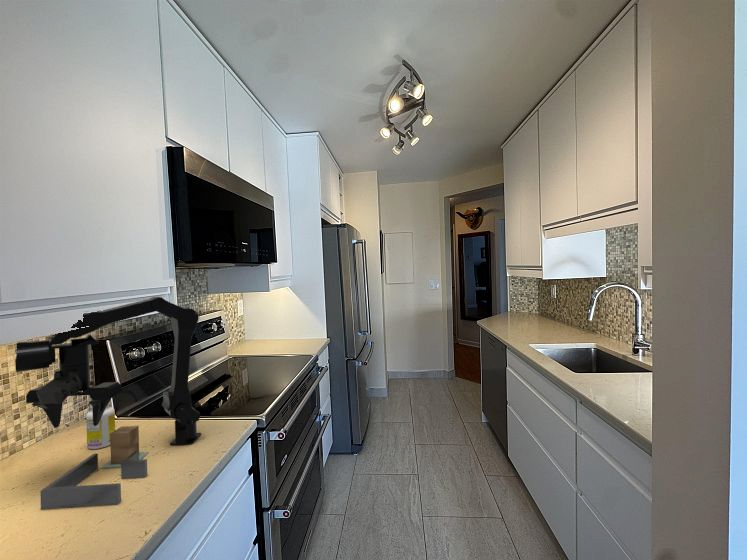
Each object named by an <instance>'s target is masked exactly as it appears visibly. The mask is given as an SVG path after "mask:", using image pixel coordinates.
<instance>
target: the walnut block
mask: <svg viewBox="0 0 747 560" xmlns="http://www.w3.org/2000/svg"><path fill="white" fill-rule="evenodd" d="M109 446H110V460H111V464H121V462H122V461H124V460H125V459H126V458H127V457H128V456H130V455H131V454H132V453H133V452H134V451H139V452H140V431H139V425H127V426H124V425H123V426H119V427H118V428H117V429H115V431H114V432H112V433H111V434H110V445H109Z"/></svg>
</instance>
